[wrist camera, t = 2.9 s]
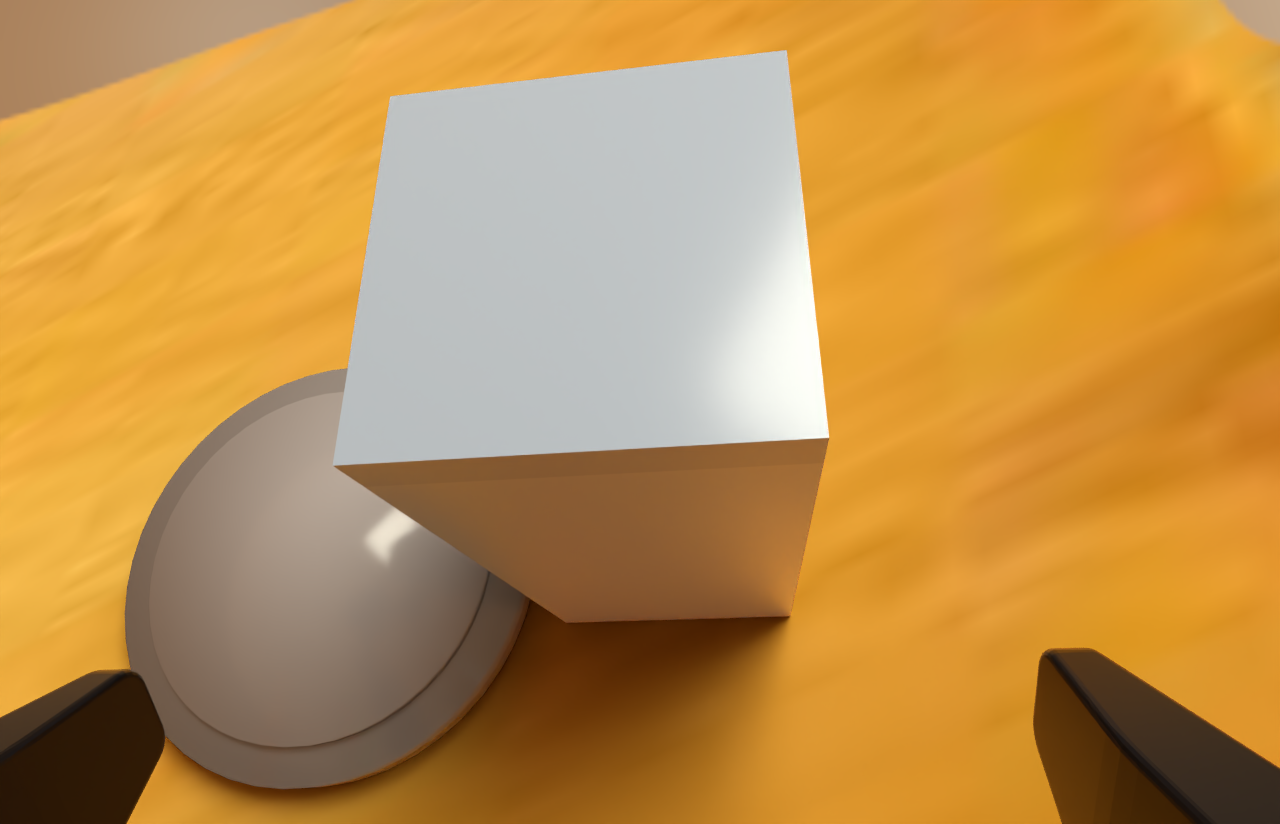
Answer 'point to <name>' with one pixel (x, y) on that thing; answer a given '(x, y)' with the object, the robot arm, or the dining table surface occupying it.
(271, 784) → the taupe domed disc
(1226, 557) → the dining table surface
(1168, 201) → the dining table surface
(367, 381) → the tall pale pillar
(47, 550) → the dining table surface
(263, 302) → the dining table surface
